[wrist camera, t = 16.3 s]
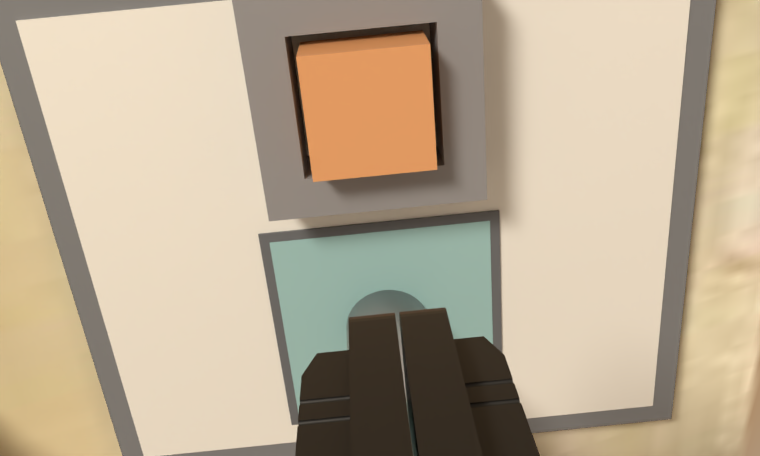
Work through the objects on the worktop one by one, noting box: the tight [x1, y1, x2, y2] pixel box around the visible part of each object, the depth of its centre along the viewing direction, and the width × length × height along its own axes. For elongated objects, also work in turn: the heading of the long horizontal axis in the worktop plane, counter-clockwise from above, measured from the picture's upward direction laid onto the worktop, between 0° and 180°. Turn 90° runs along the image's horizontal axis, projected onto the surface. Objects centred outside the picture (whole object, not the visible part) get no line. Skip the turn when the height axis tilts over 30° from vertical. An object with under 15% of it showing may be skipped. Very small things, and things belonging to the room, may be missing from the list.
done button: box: [296, 30, 437, 182], centre depth 25 cm, size 4×4×2 cm
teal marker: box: [346, 290, 425, 411], centre depth 27 cm, size 4×4×10 cm
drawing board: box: [0, 0, 716, 456], centre depth 29 cm, size 22×26×4 cm
